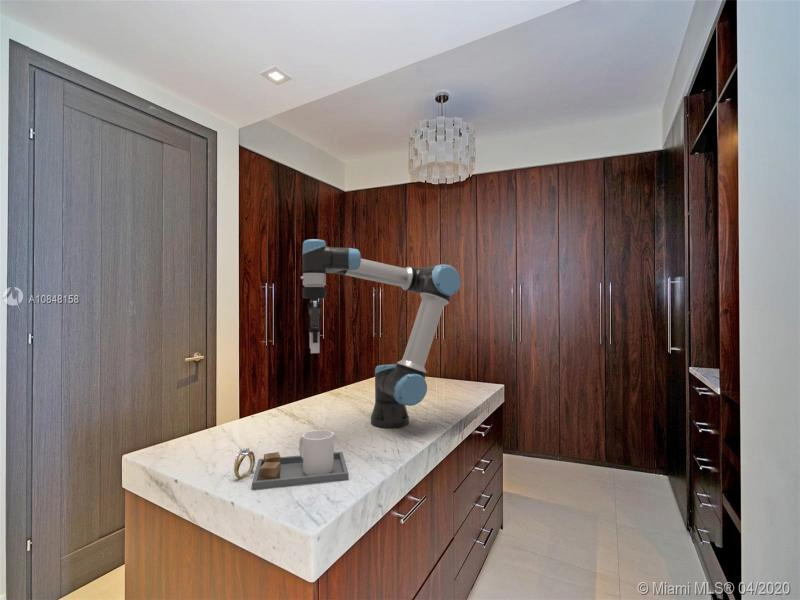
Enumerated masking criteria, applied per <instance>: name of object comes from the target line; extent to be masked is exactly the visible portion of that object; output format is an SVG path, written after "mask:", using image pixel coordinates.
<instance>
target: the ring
mask: <svg viewBox="0 0 800 600" xmlns="http://www.w3.org/2000/svg"><path fill="white" fill-rule="evenodd" d="M246 456H247V457H248V458H249V461H250V462H249V463H250V464H249V469H248V471H247V472H246V473H245V474H244V473H243V475H240V473H239V471H240V466H241V464H242V463H243V461H244V459H245V458H246ZM255 463H256V456H255V453H254V451H252V450H251V449H250V447H248V448H247V447H246V448H245V447H244V448H241V449H240V450H239V451H238V452H237V454H236V456H235V459H234V464H233V475H234V477H236V478H237V479H239V480H241V479H243V478H245V477H247V476H249V475H250V474H252V472H253V470H254V467H255V466H256V465H255Z"/></svg>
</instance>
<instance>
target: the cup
mask: <svg viewBox="0 0 800 600" xmlns="http://www.w3.org/2000/svg"><path fill="white" fill-rule="evenodd" d="M334 436H335V435H334V432H333V431H331V430H328V429H314V430H309V431H307V432H305V433H304V434H303V435H301V437H300V438H299V441H298V443H299V444H298V450H299V455H300V456H301V458H302V459H303V472H304V474H305V475H307V476H310V475H320V474H330V473H331V472H332V471H333V466H334V452H335V450H334V448H335V447H334V444H335V443H334V442H335V441H334V440H335V438H334Z"/></svg>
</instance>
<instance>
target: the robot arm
mask: <svg viewBox="0 0 800 600" xmlns="http://www.w3.org/2000/svg"><path fill="white" fill-rule="evenodd" d="M326 243H327V242H326V241H325V240H323V239H320V238H319V239H318V238H317V239H316V238H315V239H314V238H311V239H310V238H309V239H305V240H304V241H303V242H302V254H301V256H302V276H300V279H301V280H302V286H304V287H303V288H302V298H303V299H310V301H309V303H308V304H307V309H308V316H309V325H308V327H309V329H308V333H309V349H310V354H320V350H321V349H320V347H321V346H320V343H321V342H320V332H321V331H320V330H321V327H320V316H321V309H322V308H321V307H322V305H321V304H320V301H319V299H326V296H327V295H326V293H327V292H326V289H327V288H326V287H325V286H326V285H327V275H326V273H327V274H336V275H342V276H349V277H354V278H357V279H362V280H367V281H372V282H376V283H382V284H386V285H391V286H395V287H400V288H401V289H402V290H404V291H409V292H412V293H414V294H418V295H419V296H420V298H421V302H420V304H419V307H418V310H417V312H416V313H417V314H416V317H415V319H414V324H413V326H412V329H411V331H410V332H411V333H410V335H409V337H408V341H407V344H406V347H405V349H404V350H405V351H404V353H403V357H402V359H401V360H399V361H397V362H396V363H392V364H391V363H390V364H380V365H379V364H378V365H377V366H376V367H375V369H374V395H375V396H374V398H375V399H374V400H375V401H374V405H373V409H372V413H371V415H370V424H371V425H373V426H375V427H377V428H382V429H393V428H401V427H405V426H408V424H409V423H410V416H409V413H408V409H407V408H406V406H408V407H412V406H416V405H418V404H420V403H421V402H422V401H423V400H424V398H425V397H426V395H427V392H428V383H427V381H426V376H427V373H428V372H427V370H426V368H425V365H426V364H427V359H428V356H429V353H430V351H431V347H432V344H433V340H434V338H435V334H436V331H437V328H438V326H439V322H440V319H441V315H442V312H443V309H444V307H446V306H447V305H448V304H450V300H451V297H452V296H453V295H455V294H456V293H457V292H459V290H460V287H461V276H460V274H459V272H458V270H457V269H456V268H455V267H454V266H452V265H450V264H438V265H437V264H436V265H433V266H432V265H431V266H426V267H411V266H407V267H401V266H396V265H391V264H387V263H382V262H379V261H374V260H370V259H365V258H362V256H361V252H360V250H359V249H357V248H351V247H331V246H327V244H326Z"/></svg>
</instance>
